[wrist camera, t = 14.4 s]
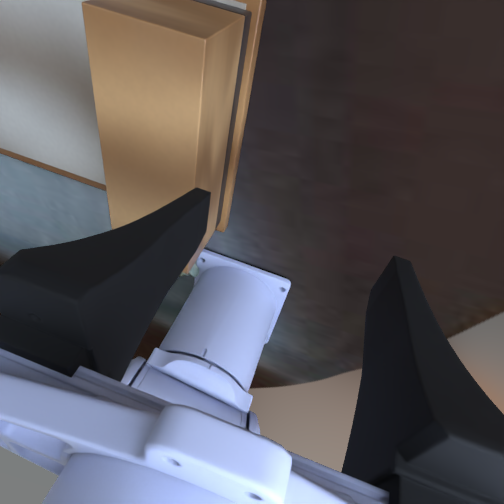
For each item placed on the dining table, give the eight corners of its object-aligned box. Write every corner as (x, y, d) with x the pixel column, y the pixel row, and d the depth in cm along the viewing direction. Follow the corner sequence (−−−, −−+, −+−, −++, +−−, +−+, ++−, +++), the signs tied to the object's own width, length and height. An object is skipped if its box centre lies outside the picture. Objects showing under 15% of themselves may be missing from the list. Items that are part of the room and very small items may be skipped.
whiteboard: (227, 225, 27) (222, 234, 27) (-4, 144, 29) (-14, 149, 29) (269, -14, 17) (263, -10, 16) (-98, -118, 19) (-117, -119, 18)
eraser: (220, 221, 26) (187, 274, 22) (156, 199, 26) (113, 247, 23) (252, 11, 17) (205, 39, 13) (153, -18, 17) (80, 1, 13)
